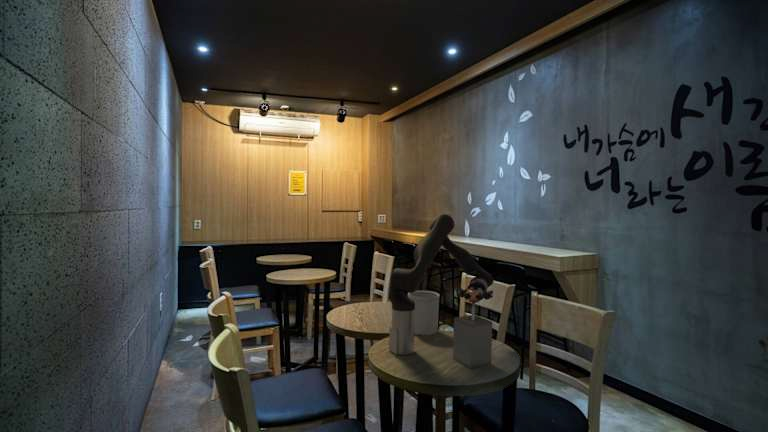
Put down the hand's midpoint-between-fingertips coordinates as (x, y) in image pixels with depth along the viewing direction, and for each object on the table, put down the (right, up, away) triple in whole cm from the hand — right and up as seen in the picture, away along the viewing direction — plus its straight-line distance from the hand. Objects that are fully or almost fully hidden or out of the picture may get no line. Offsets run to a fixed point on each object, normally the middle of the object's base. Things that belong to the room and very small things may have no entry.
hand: (472, 297), depth 153 cm
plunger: (0, -21, +3) cm, 21 cm away
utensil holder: (-15, -24, +40) cm, 49 cm away
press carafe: (0, -25, +3) cm, 25 cm away
